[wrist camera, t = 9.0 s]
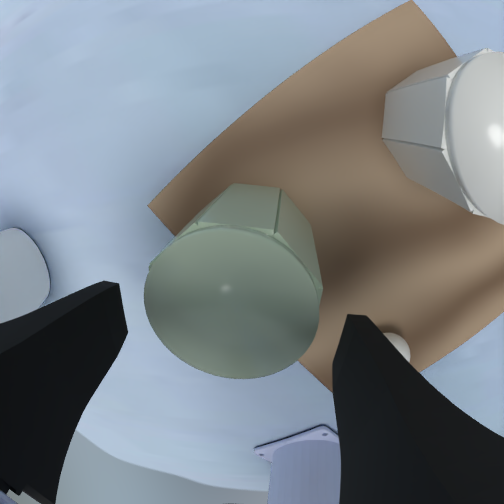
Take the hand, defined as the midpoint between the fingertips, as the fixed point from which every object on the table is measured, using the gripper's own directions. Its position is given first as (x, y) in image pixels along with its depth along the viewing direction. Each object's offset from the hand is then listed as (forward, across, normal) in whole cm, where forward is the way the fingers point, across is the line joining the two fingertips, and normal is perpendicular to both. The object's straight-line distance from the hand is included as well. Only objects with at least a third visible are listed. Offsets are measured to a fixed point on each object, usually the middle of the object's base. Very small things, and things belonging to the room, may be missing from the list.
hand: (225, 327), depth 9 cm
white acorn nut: (+7, -8, -7) cm, 13 cm away
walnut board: (+7, -8, -1) cm, 11 cm away
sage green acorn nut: (+7, 0, 0) cm, 7 cm away
